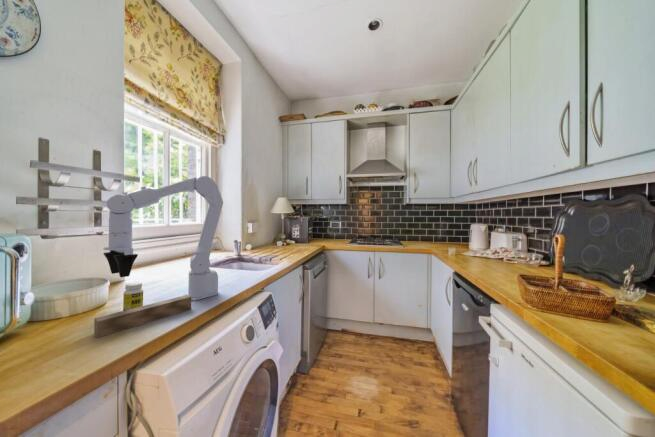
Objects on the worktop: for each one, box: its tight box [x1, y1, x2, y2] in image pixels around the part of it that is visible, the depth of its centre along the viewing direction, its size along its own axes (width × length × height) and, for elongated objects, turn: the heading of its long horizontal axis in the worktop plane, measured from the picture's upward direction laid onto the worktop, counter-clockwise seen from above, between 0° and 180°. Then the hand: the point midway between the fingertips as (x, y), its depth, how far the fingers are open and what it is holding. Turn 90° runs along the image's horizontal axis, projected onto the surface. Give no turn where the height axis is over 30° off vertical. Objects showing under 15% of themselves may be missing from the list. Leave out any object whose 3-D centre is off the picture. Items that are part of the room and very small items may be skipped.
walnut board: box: [93, 294, 192, 339], centre depth 67 cm, size 22×3×4 cm, turn 147°
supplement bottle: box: [122, 281, 144, 311], centre depth 73 cm, size 5×5×8 cm
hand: (120, 274), depth 76 cm, fingers open, 7 cm apart
